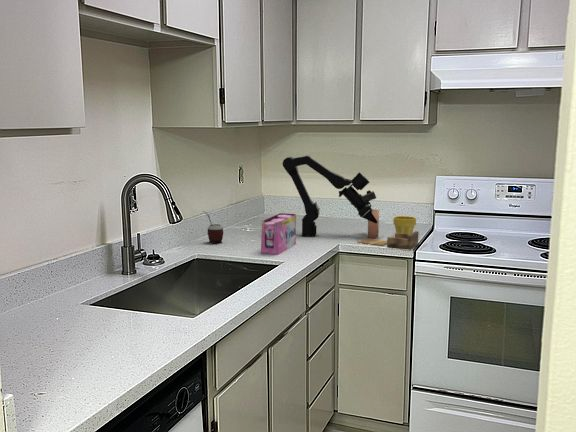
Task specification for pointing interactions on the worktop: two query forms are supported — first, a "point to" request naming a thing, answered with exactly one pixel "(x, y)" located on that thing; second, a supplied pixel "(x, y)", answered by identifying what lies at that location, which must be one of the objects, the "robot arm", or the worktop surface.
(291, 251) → the worktop surface
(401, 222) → the plant pot
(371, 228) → the post
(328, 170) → the robot arm
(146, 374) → the worktop surface
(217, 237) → the mate gourd
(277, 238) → the gum box
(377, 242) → the brown wooden flat block
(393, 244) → the open wooden box
